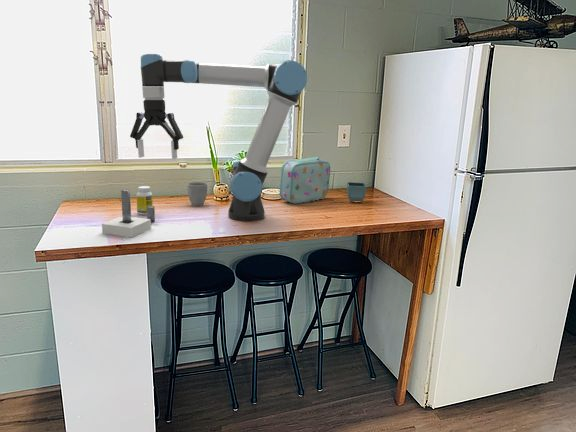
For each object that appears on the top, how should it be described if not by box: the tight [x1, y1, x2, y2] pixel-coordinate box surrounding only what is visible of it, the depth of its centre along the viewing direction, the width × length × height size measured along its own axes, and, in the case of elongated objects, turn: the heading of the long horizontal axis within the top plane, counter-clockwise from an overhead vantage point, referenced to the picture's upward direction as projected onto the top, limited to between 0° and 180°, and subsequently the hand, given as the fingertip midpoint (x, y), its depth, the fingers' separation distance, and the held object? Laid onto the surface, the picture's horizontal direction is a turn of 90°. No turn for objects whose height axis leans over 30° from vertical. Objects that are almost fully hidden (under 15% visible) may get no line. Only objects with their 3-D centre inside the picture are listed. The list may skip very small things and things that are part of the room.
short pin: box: [146, 205, 156, 224], centre depth 183 cm, size 3×3×6 cm
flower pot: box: [346, 181, 368, 202], centre depth 230 cm, size 9×9×9 cm
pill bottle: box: [136, 185, 154, 216], centre depth 194 cm, size 6×6×11 cm
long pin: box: [120, 189, 132, 224], centre depth 169 cm, size 3×3×15 cm
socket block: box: [101, 215, 152, 238], centre depth 170 cm, size 12×12×4 cm
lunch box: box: [279, 156, 331, 205], centre depth 227 cm, size 27×10×21 cm, turn 133°
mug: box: [186, 181, 208, 207], centre depth 213 cm, size 12×9×10 cm
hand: (157, 157), depth 175 cm, fingers open, 13 cm apart
